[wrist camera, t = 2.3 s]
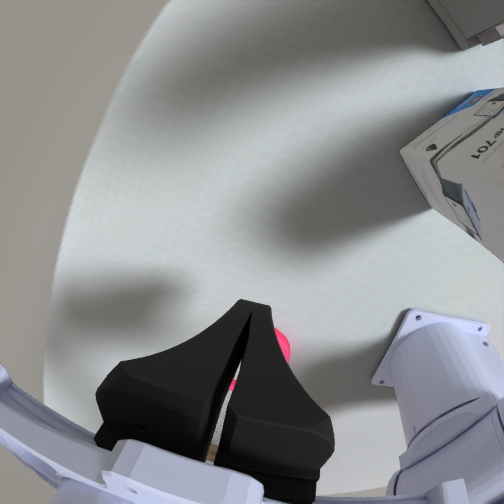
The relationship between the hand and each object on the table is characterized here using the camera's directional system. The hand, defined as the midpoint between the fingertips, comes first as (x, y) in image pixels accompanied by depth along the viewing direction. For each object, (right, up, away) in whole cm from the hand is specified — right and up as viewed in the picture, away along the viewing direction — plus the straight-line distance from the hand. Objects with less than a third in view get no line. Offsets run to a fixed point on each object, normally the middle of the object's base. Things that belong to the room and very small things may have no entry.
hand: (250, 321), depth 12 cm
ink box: (+14, +10, +3) cm, 17 cm away
